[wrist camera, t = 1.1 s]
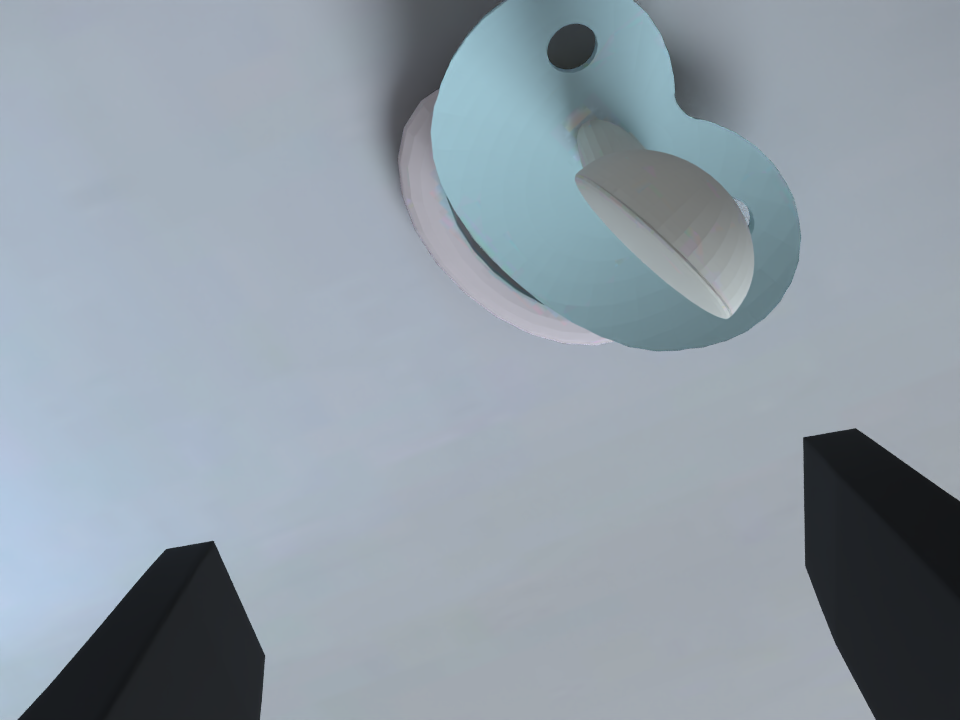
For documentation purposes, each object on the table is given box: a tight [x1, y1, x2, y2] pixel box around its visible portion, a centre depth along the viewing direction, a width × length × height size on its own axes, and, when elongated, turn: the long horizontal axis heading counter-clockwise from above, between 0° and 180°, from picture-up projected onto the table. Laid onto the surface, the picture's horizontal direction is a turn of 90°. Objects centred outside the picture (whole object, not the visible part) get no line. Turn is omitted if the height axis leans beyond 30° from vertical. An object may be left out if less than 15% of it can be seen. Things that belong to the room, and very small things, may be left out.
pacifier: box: [398, 0, 801, 351], centre depth 15 cm, size 7×6×6 cm
